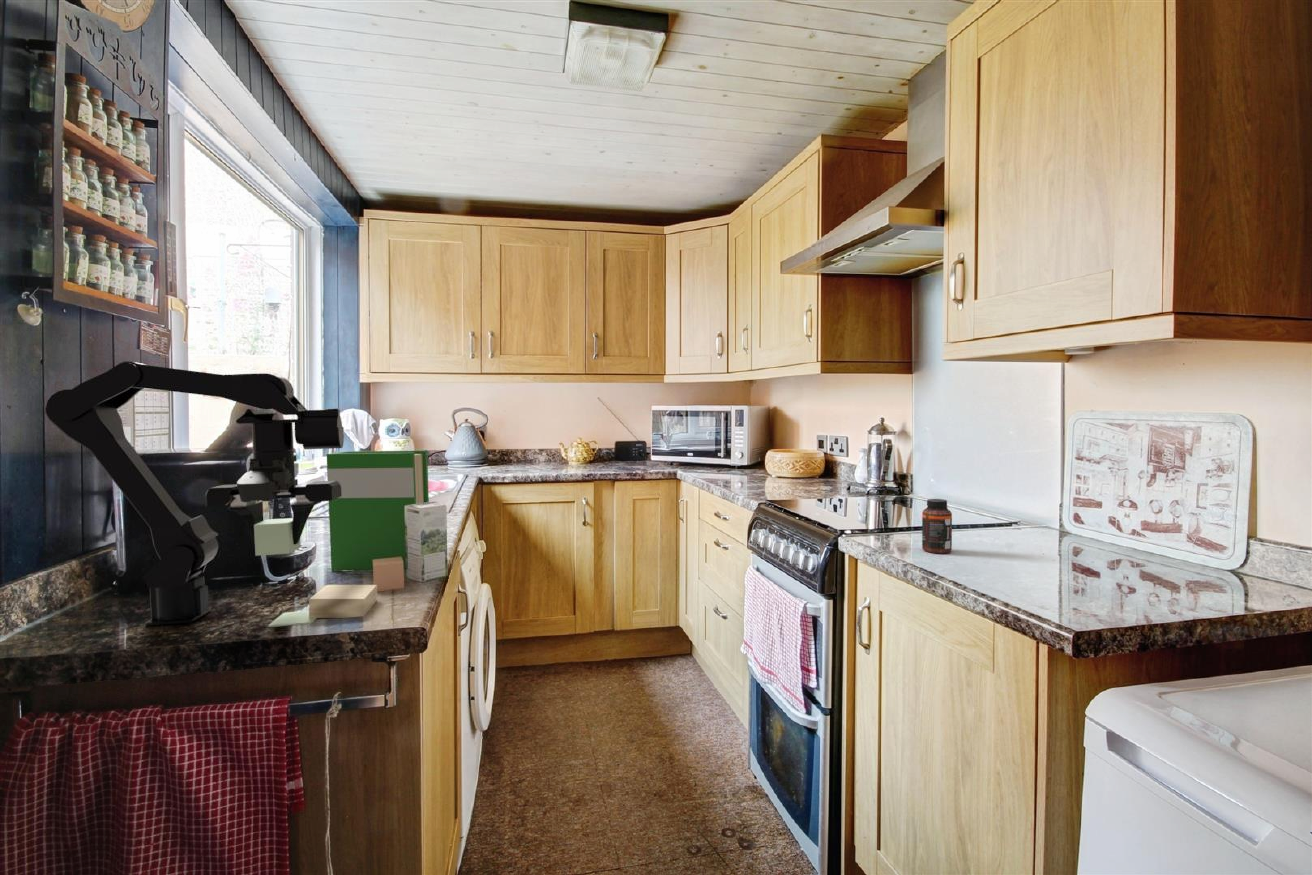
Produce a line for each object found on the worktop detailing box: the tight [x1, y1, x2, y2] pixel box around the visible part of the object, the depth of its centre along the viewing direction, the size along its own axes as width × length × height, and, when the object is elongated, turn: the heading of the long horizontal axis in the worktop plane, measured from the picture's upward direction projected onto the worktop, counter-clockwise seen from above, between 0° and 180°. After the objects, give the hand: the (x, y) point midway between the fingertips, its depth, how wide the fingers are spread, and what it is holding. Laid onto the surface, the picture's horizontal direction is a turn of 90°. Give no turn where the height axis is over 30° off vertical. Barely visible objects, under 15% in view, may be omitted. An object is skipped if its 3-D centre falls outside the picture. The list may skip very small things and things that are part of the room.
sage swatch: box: [268, 610, 318, 628], centre depth 99 cm, size 6×6×1 cm
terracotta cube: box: [372, 557, 405, 592], centre depth 116 cm, size 5×5×5 cm
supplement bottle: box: [921, 498, 953, 554], centre depth 138 cm, size 6×6×11 cm
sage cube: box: [254, 517, 302, 557], centre depth 104 cm, size 5×5×5 cm
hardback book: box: [326, 450, 430, 570], centre depth 131 cm, size 18×7×24 cm, turn 88°
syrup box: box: [405, 501, 449, 583], centre depth 122 cm, size 6×6×14 cm
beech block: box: [308, 584, 378, 619], centre depth 103 cm, size 8×8×3 cm
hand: (278, 544), depth 104 cm, fingers closed on sage cube, 5 cm apart
